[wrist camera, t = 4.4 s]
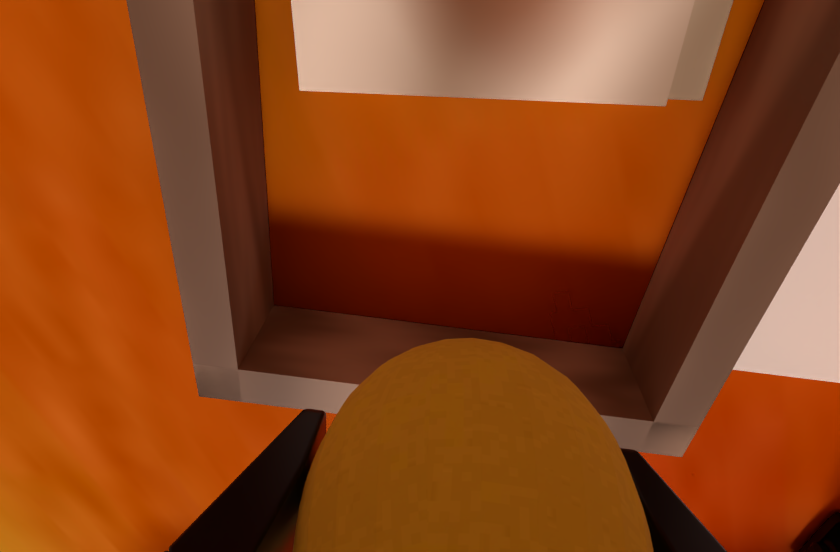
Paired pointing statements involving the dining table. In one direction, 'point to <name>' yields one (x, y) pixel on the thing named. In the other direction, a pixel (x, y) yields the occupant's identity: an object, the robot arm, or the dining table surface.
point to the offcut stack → (511, 48)
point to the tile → (804, 311)
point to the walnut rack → (385, 339)
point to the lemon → (469, 461)
